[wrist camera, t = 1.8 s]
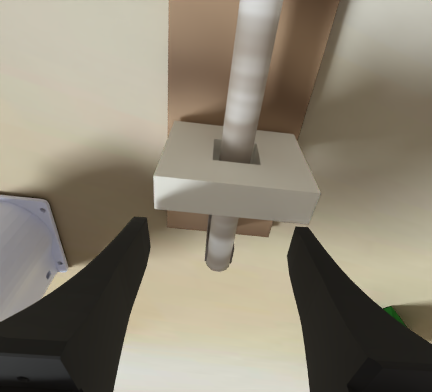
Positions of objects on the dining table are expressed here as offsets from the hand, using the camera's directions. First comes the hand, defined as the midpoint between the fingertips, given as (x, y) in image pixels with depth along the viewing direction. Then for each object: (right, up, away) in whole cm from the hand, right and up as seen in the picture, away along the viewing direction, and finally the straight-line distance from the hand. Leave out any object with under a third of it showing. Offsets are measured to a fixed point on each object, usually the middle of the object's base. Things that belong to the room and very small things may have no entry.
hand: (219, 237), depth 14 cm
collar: (+1, +6, +6) cm, 8 cm away
